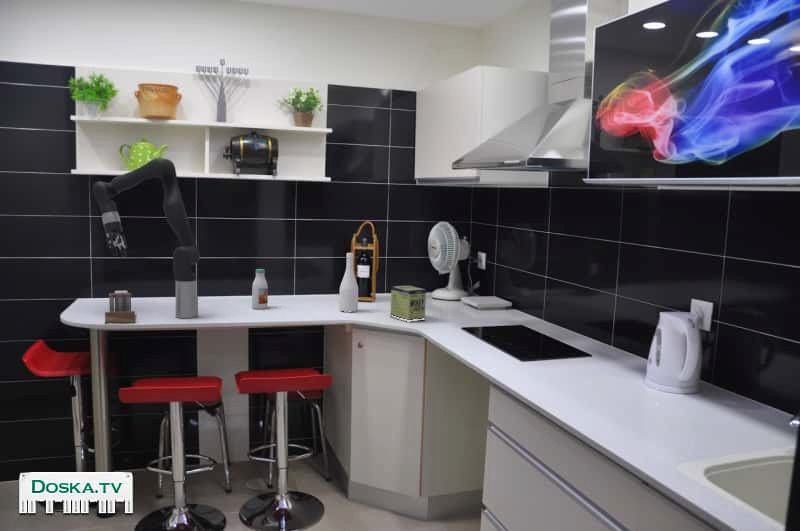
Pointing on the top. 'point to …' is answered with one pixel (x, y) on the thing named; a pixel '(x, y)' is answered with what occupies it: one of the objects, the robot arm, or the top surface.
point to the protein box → (408, 302)
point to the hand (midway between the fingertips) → (119, 256)
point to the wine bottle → (348, 288)
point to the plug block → (124, 299)
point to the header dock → (120, 310)
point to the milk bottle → (260, 291)
